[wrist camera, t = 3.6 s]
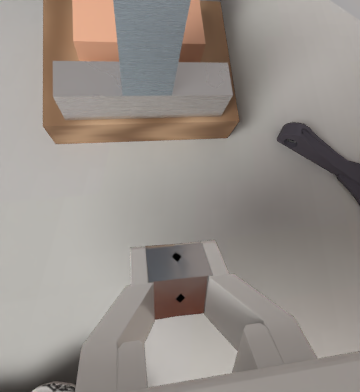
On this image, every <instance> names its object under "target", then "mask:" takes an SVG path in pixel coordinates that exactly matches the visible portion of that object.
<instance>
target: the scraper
mask: <svg viewBox="0 0 360 392" xmlns="http://www.w3.org/2000/svg"><path fill="white" fill-rule="evenodd" d="M190 1H191V0H113V4H114V14H115V24H116V34H117V44H118V53H119V62H115V61H53V98H54V100H55V102H56V103H57V105H58V107H59V109H60V111H61V113H62V115H63V117H64V118H65V120H94V119H139V118H184V117H221V115H222V113H223V112H224V110H225V108H226V106H227V105H228V103H229V101H230V99H231V98H232V96H233V92H232V86H231V79H230V73H229V67H228V63H208V62H179V57H180V52H181V47H182V42H183V37H184V32H185V27H186V21H187V16H188V11H189V6H190Z"/></svg>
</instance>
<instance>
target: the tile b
mask: <svg viewBox="0 0 360 392" xmlns="http://www.w3.org/2000/svg"><path fill="white" fill-rule="evenodd" d="M205 45H206V43H205V36H204V29H203V22H202V15H201V7H200V0H191V1H190V6H189V11H188V16H187V21H186V27H185V32H184V37H183V42H182V47H181V52H180V57H179V62H200V61H201V58H202V54H203V51H204V48H205Z"/></svg>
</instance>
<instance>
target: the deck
mask: <svg viewBox="0 0 360 392" xmlns="http://www.w3.org/2000/svg"><path fill="white" fill-rule="evenodd" d="M200 7H201V15H202V22H203V29H204V36H205V43H206V45H205V48H204V51H203V54H202V58H201V61H200V62H208V63H228V67H229V73H230V79H231V86H232V92H233V96H232V98H231V99H230V101H229V103H228V105H227V106H226V108H225V110H224V112H223V113H222V115H221V117H184V118H139V119H94V120H65V118H64V117H63V115H62V113H61V111H60V109H59V107H58V105H57V103H56V102H55V100H54V98H53V61H79V59H78V55H77V52H76V49H75V45H74V42H73V9H72V0H43V127H44V128H45V130H46V131H47V133H48V134H49V135H50V137H51V138H52V139H53V141H54V142H55V144H72V143H100V142H129V141H157V140H185V139H214V138H228V136H229V135H230V134H231V132H232V131H233V129H234V128H235V127H236V125H237V124H238V122H239V115H238V109H237V103H236V97H235V90H234V84H233V78H232V72H231V65H230V59H229V53H228V46H227V40H226V34H225V28H224V21H223V15H222V9H221V3H220V2H219V1H200Z"/></svg>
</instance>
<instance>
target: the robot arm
mask: <svg viewBox="0 0 360 392" xmlns="http://www.w3.org/2000/svg"><path fill="white" fill-rule="evenodd" d="M130 281H131V285H126V286H125V288H124V289H123V290H122V292H121V293H120V295H119V296H118V297H117V299H116V300H115V301H114V303H113V304H112V305H111V307H110V308H109V310H108V311H107V312H106V314H105V315H104V316H103V318H102V319H101V321H100V322H99V323H98V325H97V326H96V327H95V329H94V330H93V332H92V333H91V334H90V336H89V337H88V338H87V340H86V341H85V343H84V344H83V345H82V347H81V352H80V360H79V367H78V374H77V381H76V388H75V392H360V351H358V352H353V353H347V354H341V355H335V356H329V357H324V358H317V356H316V355H315V353H314V351H313V349H312V348H311V346H310V344H309V342H308V341H307V339H306V337H305V335H304V333H303V332H302V330H301V328H300V326H299V325H298V323H297V321H296V319H295V318H294V317H293V316H292V315H291V314H289V313H288V312H286V311H285V310H284V309H282V308H281V307H279V306H278V305H277V304H275V303H274V302H273V301H271V300H270V299H268V298H267V297H266V296H264V295H263V294H261V293H260V292H259V291H257V290H256V289H255V288H253V287H252V286H250V285H249V284H248V283H246V282H245V281H243V280H242V279H241V278H239V277H238V276H237V275H235V274H234V273H233V274H229V271H228V269H227V267H226V264H225V262H224V259H223V257H222V255H221V252H220V250H219V248H218V245H217V243H216V241H215V240H207V241H200V242H190V243H179V244H169V245H154V246H145V247H130ZM202 313H204V315H205V316H206V317H207V318H208V319H209V320H210V321H211V323H212V324H213V325H214V326H215V327H216V328H217V329H218V330H219V331H220V332H221V333H222V335H223V336H224V337H225V338H226V339H227V340H228V341H229V342H230V343H231V344H232V346H233V347H234V348H235V349H236V350H237V351H238V353H237V356H236V360H235V364H234V367H233V371H232V373H230V374H224V375H218V376H212V377H207V378H201V379H195V380H189V381H183V382H178V383H172V384H166V385H160V386H154V387H147V373H146V359H145V345H144V343H145V341H146V339H147V337H148V335H149V333H150V331H151V329H152V326H153V324H154V322H155V320H157V319H163V318H169V317H175V316H179V315H180V316H183V315H192V314H202Z"/></svg>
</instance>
